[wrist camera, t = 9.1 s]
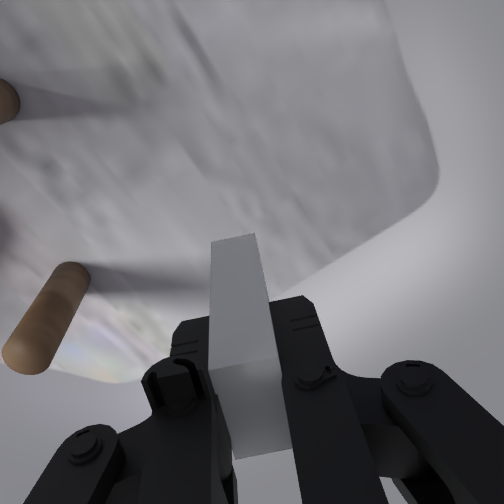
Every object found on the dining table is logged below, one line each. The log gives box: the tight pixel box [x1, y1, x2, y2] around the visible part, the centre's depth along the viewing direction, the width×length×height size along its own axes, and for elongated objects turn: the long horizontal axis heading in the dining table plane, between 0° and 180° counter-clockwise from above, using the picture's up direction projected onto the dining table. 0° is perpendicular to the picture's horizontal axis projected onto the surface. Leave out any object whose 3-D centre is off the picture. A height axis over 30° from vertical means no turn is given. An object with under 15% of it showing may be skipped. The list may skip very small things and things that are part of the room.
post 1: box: [2, 262, 90, 375], centre depth 30 cm, size 3×3×9 cm
